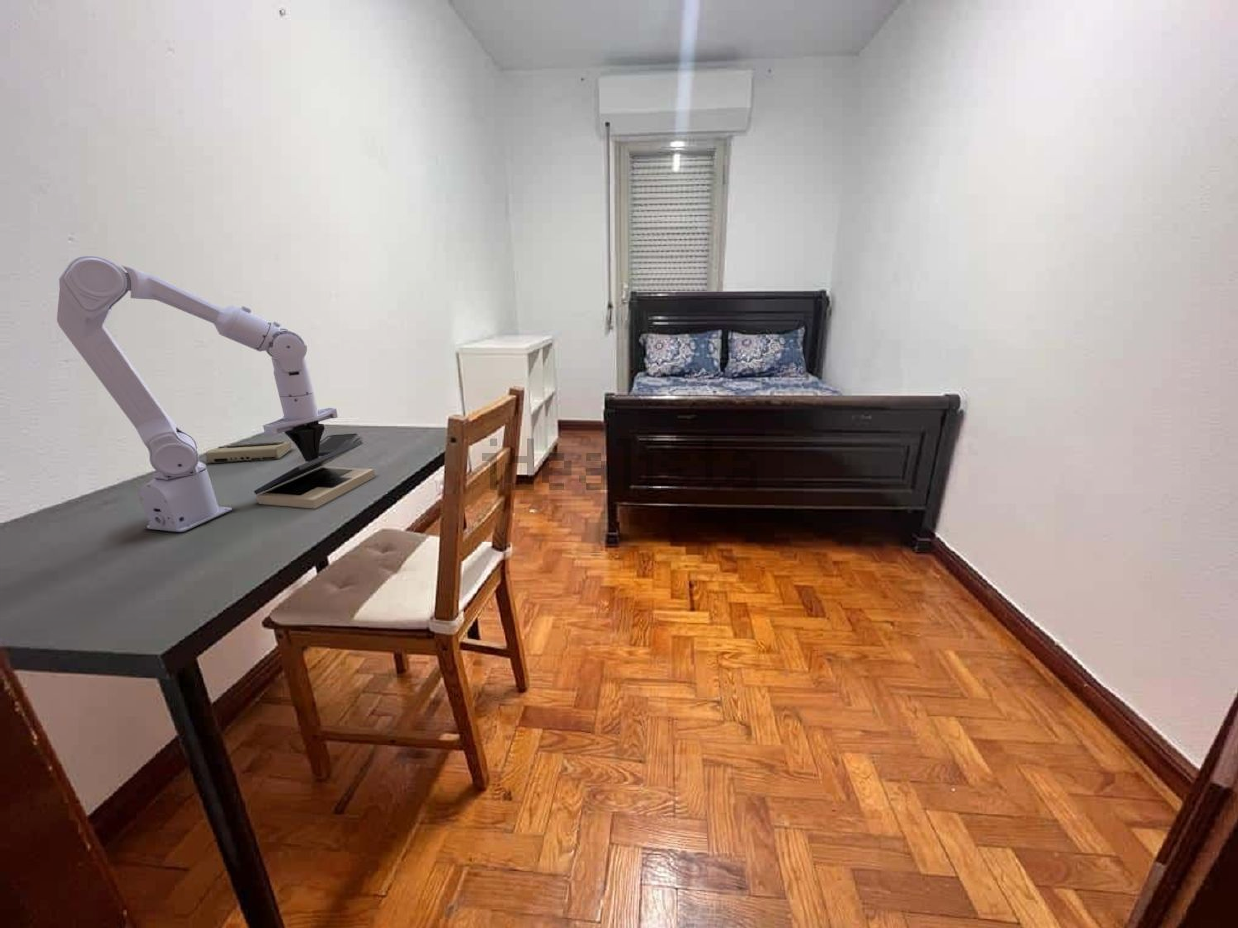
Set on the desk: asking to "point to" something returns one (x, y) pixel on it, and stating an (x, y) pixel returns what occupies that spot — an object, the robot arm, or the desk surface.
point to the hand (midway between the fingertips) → (312, 460)
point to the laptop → (316, 487)
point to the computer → (248, 452)
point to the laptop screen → (307, 467)
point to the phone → (336, 442)
